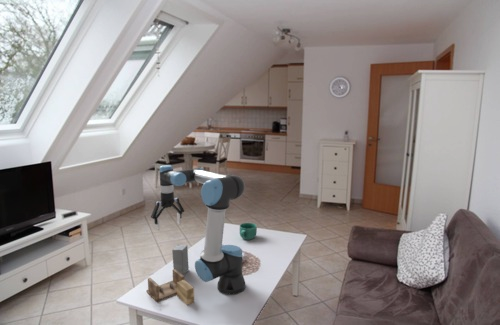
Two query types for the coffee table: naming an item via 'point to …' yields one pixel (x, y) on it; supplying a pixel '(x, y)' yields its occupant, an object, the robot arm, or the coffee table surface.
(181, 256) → the skincare box
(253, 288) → the coffee table surface
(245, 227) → the mug
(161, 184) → the robot arm
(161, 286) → the peg frame
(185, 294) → the light wooden block
